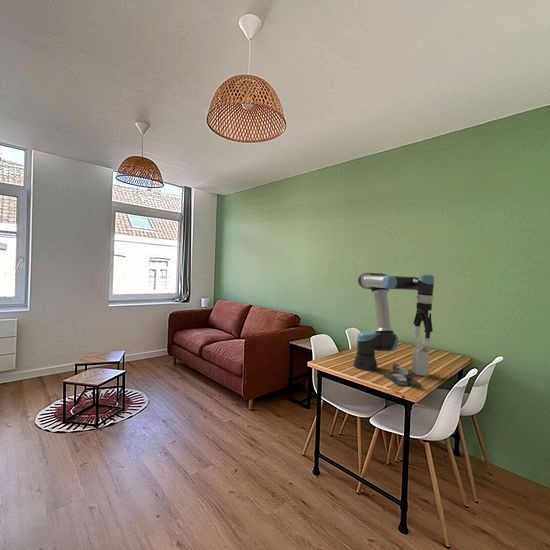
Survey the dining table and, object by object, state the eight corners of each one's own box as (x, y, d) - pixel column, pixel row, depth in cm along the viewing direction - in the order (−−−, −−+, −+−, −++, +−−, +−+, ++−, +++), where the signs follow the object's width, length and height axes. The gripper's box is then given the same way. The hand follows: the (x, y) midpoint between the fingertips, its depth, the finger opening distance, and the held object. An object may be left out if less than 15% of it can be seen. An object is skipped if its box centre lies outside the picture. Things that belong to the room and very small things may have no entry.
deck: (383, 375, 179) (384, 369, 179) (405, 375, 181) (405, 370, 181) (397, 386, 163) (398, 379, 163) (421, 386, 165) (421, 379, 165)
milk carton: (422, 372, 190) (424, 343, 189) (427, 376, 182) (429, 345, 182) (411, 371, 190) (413, 342, 189) (416, 375, 183) (418, 345, 182)
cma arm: (391, 368, 180) (391, 363, 180) (397, 368, 181) (397, 363, 181) (407, 379, 163) (407, 374, 163) (414, 379, 163) (414, 374, 163)
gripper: (409, 299, 173) (406, 334, 174) (426, 305, 148) (423, 346, 149) (422, 300, 172) (419, 335, 173) (442, 306, 147) (438, 347, 148)
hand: (421, 340), depth 161 cm, fingers open, 13 cm apart
